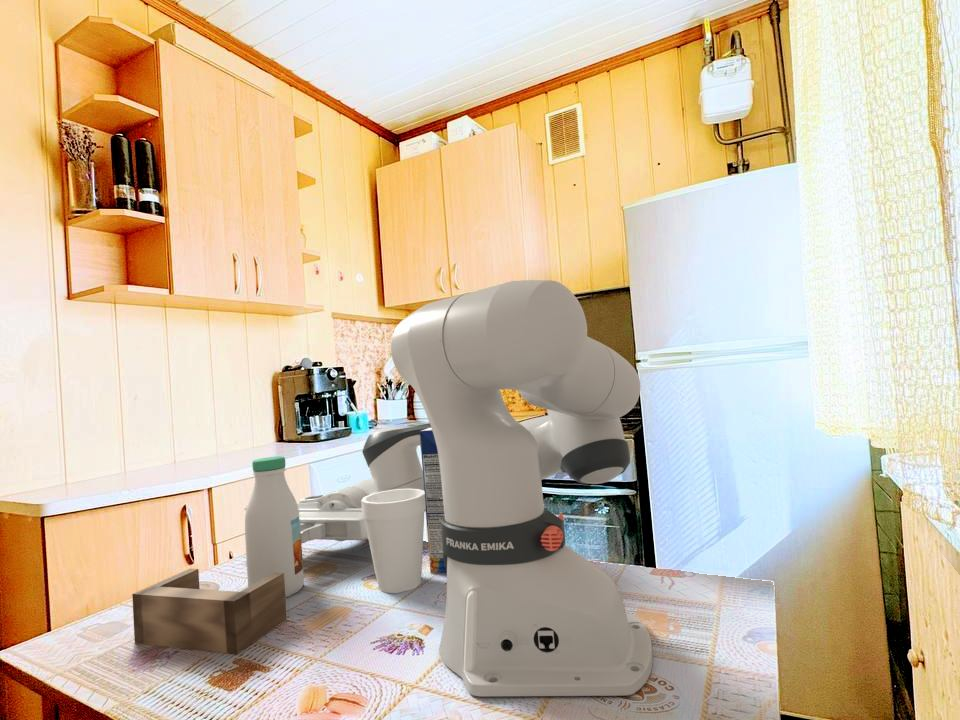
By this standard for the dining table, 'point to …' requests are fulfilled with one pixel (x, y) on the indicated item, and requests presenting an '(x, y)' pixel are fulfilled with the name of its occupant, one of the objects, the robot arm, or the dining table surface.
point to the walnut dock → (207, 613)
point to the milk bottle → (273, 527)
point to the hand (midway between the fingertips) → (293, 538)
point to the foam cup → (396, 537)
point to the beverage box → (433, 499)
